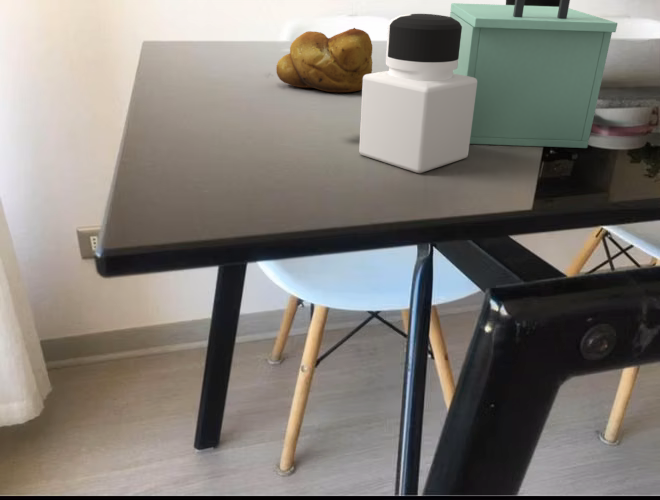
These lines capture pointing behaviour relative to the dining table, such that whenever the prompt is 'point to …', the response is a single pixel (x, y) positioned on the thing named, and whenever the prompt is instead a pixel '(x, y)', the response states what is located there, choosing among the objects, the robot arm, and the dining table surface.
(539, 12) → the lid
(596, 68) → the cool box
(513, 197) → the dining table surface
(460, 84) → the medicine bottle
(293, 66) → the bread roll
